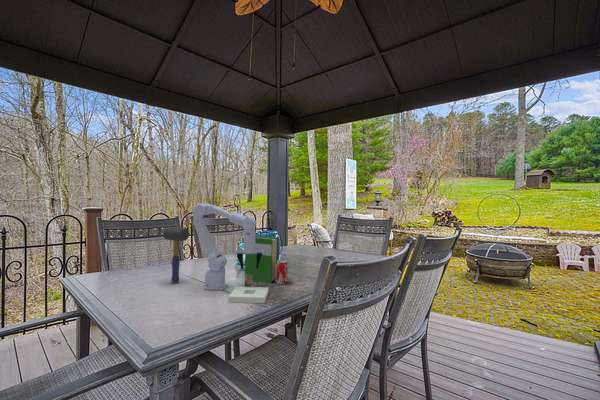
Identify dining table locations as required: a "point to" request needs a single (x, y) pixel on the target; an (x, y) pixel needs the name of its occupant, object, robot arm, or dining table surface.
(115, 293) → the dining table surface
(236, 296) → the sage board
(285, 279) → the soda can
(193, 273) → the dining table surface
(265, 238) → the hardback book
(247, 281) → the oak peg
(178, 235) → the rubber mallet
